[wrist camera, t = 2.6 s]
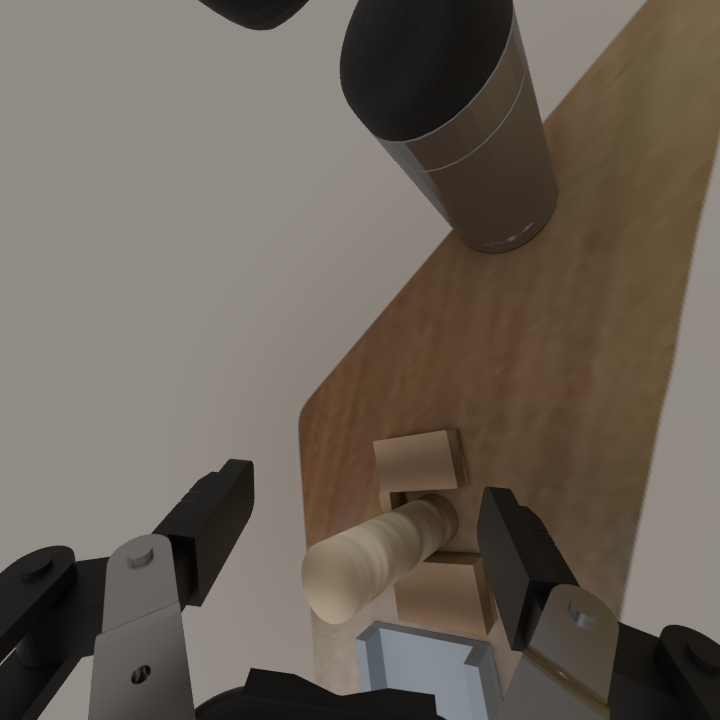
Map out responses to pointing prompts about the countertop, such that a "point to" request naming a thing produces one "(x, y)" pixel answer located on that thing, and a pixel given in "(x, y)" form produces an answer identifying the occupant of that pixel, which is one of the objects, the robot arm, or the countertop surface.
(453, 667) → the cradle
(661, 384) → the countertop surface
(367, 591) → the axle
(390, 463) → the wooden u-shaped block
